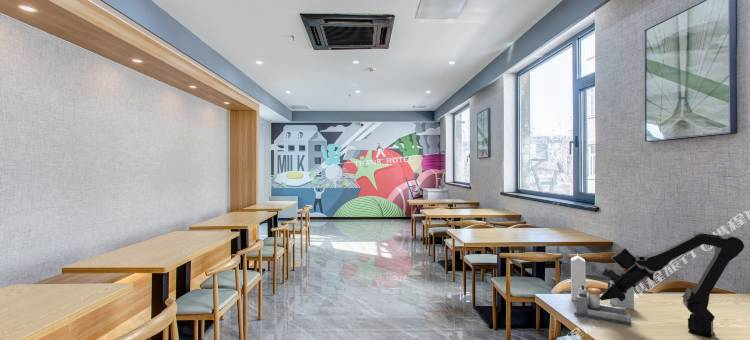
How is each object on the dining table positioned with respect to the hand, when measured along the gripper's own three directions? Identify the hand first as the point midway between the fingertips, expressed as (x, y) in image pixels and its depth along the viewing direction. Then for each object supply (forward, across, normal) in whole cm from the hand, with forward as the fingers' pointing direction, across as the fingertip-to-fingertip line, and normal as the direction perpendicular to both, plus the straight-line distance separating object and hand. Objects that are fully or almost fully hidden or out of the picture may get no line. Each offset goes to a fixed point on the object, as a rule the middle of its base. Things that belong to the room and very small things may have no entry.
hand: (600, 299), depth 157 cm
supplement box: (0, -20, +11) cm, 23 cm away
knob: (+6, 0, +2) cm, 6 cm away
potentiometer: (+4, 0, -5) cm, 7 cm away
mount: (+5, 0, +6) cm, 7 cm away
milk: (+12, -19, -2) cm, 23 cm away
